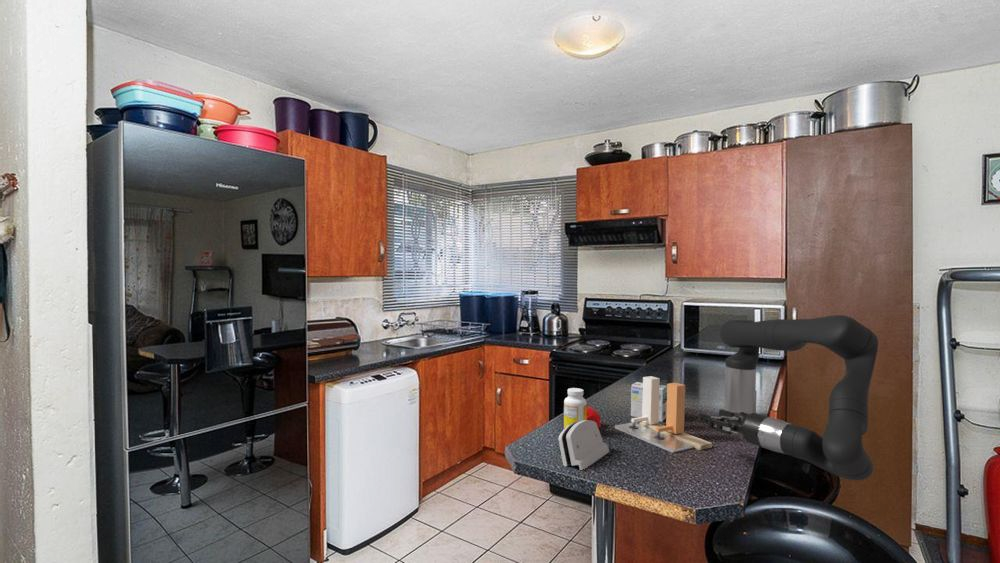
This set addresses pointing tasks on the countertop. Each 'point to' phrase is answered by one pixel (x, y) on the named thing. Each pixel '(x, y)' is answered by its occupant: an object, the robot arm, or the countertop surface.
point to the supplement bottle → (574, 407)
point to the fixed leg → (649, 401)
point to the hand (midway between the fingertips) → (709, 415)
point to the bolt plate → (654, 437)
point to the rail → (682, 437)
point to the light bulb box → (638, 396)
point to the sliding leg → (674, 409)
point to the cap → (593, 416)
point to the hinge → (581, 444)
